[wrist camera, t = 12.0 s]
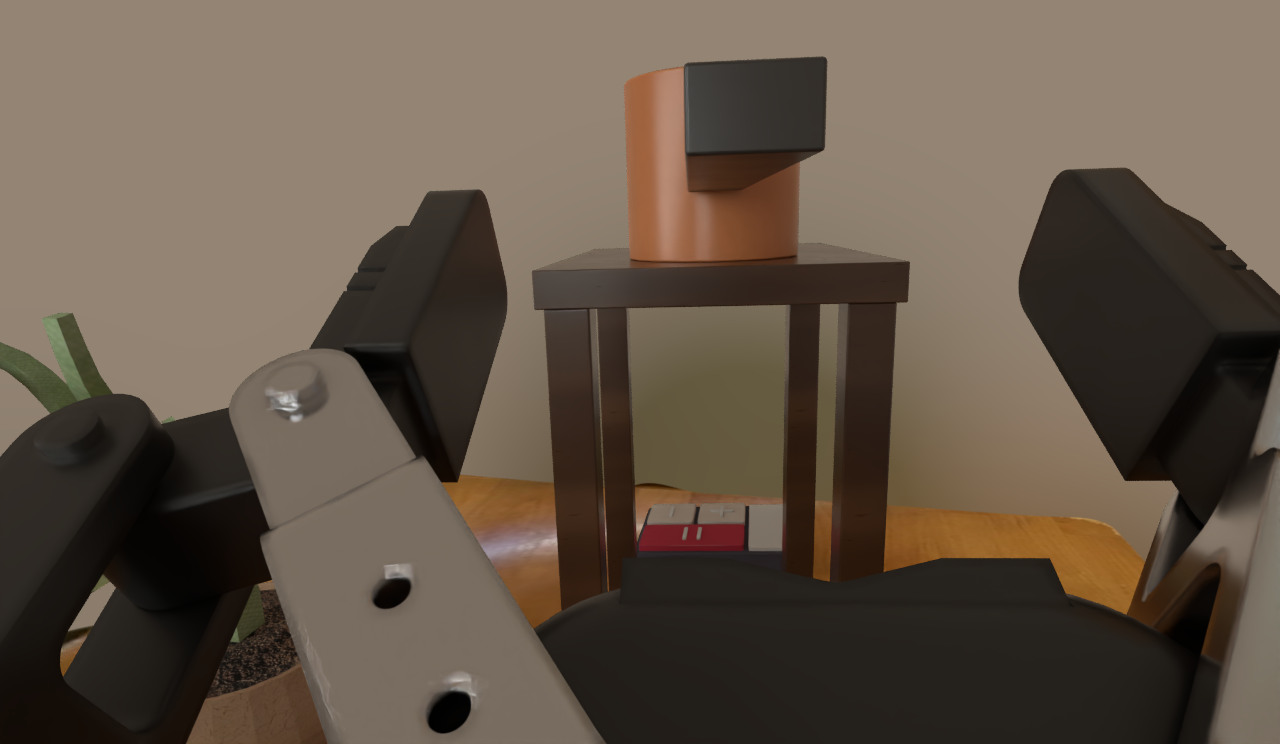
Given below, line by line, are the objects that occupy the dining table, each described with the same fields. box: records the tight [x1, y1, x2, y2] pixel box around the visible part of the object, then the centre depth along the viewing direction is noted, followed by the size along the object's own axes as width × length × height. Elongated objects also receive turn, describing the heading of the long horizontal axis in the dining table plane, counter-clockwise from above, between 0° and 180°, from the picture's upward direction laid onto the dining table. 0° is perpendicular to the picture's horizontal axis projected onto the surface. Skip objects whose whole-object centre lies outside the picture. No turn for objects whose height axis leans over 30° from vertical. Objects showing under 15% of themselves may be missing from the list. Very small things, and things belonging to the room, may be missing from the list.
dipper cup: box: [624, 57, 827, 262], centre depth 23 cm, size 25×8×8 cm, turn 176°
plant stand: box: [532, 243, 910, 611], centre depth 38 cm, size 18×14×32 cm
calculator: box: [637, 503, 783, 571], centre depth 71 cm, size 11×4×15 cm
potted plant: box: [0, 313, 328, 744], centre depth 42 cm, size 22×18×30 cm
